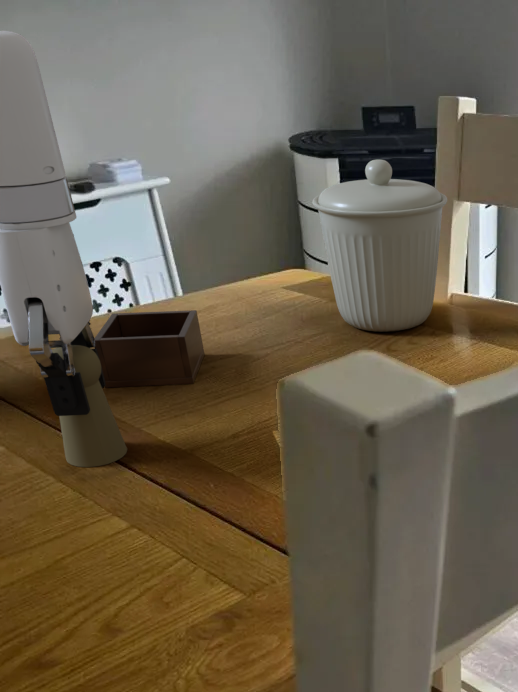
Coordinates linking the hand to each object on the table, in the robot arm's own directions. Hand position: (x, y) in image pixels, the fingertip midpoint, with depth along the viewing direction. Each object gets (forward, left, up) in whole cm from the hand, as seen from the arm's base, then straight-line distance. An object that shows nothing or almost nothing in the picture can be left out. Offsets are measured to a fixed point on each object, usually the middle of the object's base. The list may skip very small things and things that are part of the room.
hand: (81, 399), depth 82 cm
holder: (+2, +24, -6) cm, 25 cm away
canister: (+32, +40, -6) cm, 52 cm away
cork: (0, 0, -6) cm, 6 cm away
